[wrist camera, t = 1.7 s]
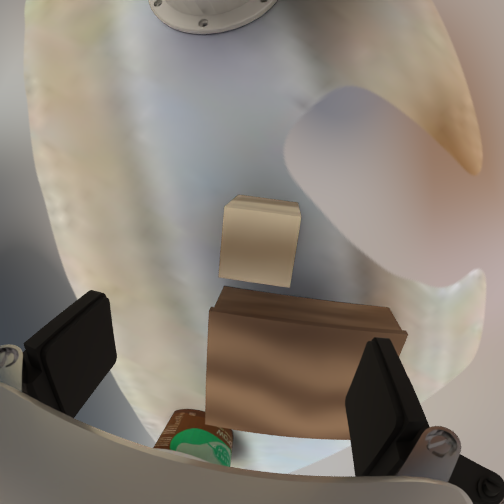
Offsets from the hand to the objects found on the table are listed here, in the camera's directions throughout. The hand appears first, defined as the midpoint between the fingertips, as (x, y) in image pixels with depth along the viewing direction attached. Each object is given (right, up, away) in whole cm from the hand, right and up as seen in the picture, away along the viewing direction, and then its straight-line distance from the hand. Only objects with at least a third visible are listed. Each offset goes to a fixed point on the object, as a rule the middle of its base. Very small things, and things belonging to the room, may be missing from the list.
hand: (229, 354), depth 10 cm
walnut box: (+5, -7, +20) cm, 22 cm away
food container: (-4, -19, +25) cm, 32 cm away
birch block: (+2, +6, +16) cm, 17 cm away
